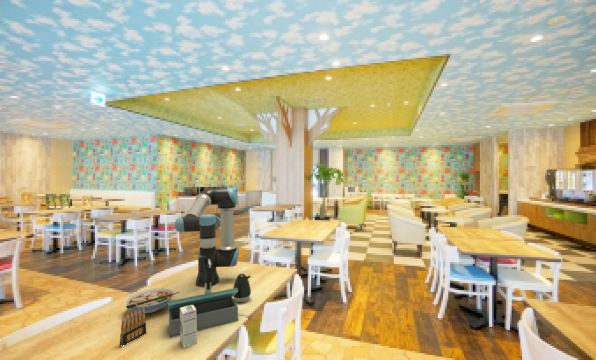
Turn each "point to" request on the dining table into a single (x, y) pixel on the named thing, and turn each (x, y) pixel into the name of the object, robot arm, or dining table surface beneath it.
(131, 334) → the ammunition clip
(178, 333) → the gray open box
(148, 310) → the ramen bowl
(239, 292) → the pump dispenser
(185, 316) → the syrup box
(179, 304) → the cover
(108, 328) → the dining table surface
